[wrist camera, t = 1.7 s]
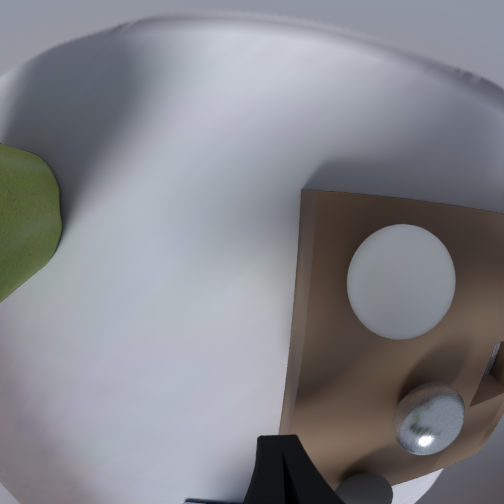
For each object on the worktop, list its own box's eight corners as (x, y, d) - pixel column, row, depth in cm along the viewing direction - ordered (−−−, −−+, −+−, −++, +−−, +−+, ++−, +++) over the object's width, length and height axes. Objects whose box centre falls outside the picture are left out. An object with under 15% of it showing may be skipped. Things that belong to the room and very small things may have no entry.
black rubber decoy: (372, 486, 13) (387, 525, 10) (320, 496, 13) (331, 539, 10) (389, 456, 13) (410, 498, 9) (333, 467, 12) (348, 516, 9)
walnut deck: (467, 433, 16) (480, 450, 14) (272, 477, 16) (275, 505, 13) (536, 220, 12) (562, 227, 10) (301, 189, 12) (316, 190, 9)
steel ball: (428, 415, 12) (458, 456, 9) (373, 428, 12) (398, 478, 8) (450, 362, 11) (491, 401, 8) (392, 373, 11) (429, 423, 8)
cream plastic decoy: (409, 310, 10) (460, 352, 7) (327, 314, 10) (362, 368, 7) (422, 221, 10) (486, 238, 6) (337, 214, 9) (386, 230, 6)
